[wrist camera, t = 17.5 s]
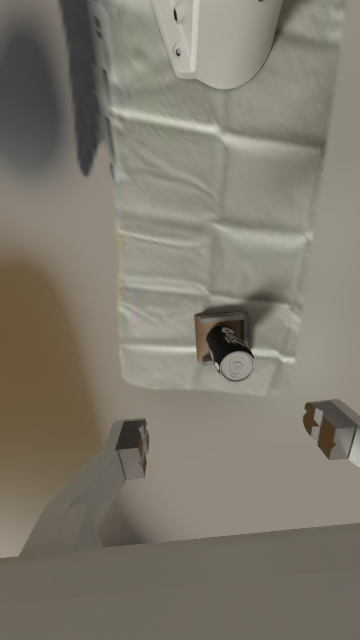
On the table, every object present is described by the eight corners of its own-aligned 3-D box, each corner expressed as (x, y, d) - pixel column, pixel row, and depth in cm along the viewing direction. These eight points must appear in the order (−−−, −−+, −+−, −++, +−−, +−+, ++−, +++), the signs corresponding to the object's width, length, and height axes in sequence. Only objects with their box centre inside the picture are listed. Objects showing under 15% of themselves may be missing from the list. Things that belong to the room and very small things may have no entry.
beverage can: (238, 327, 40) (263, 353, 29) (229, 353, 42) (250, 387, 31) (209, 321, 40) (223, 346, 28) (202, 348, 42) (213, 381, 30)
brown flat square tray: (197, 359, 43) (198, 366, 41) (194, 315, 40) (195, 319, 37) (243, 355, 43) (247, 361, 41) (244, 310, 40) (249, 314, 37)
